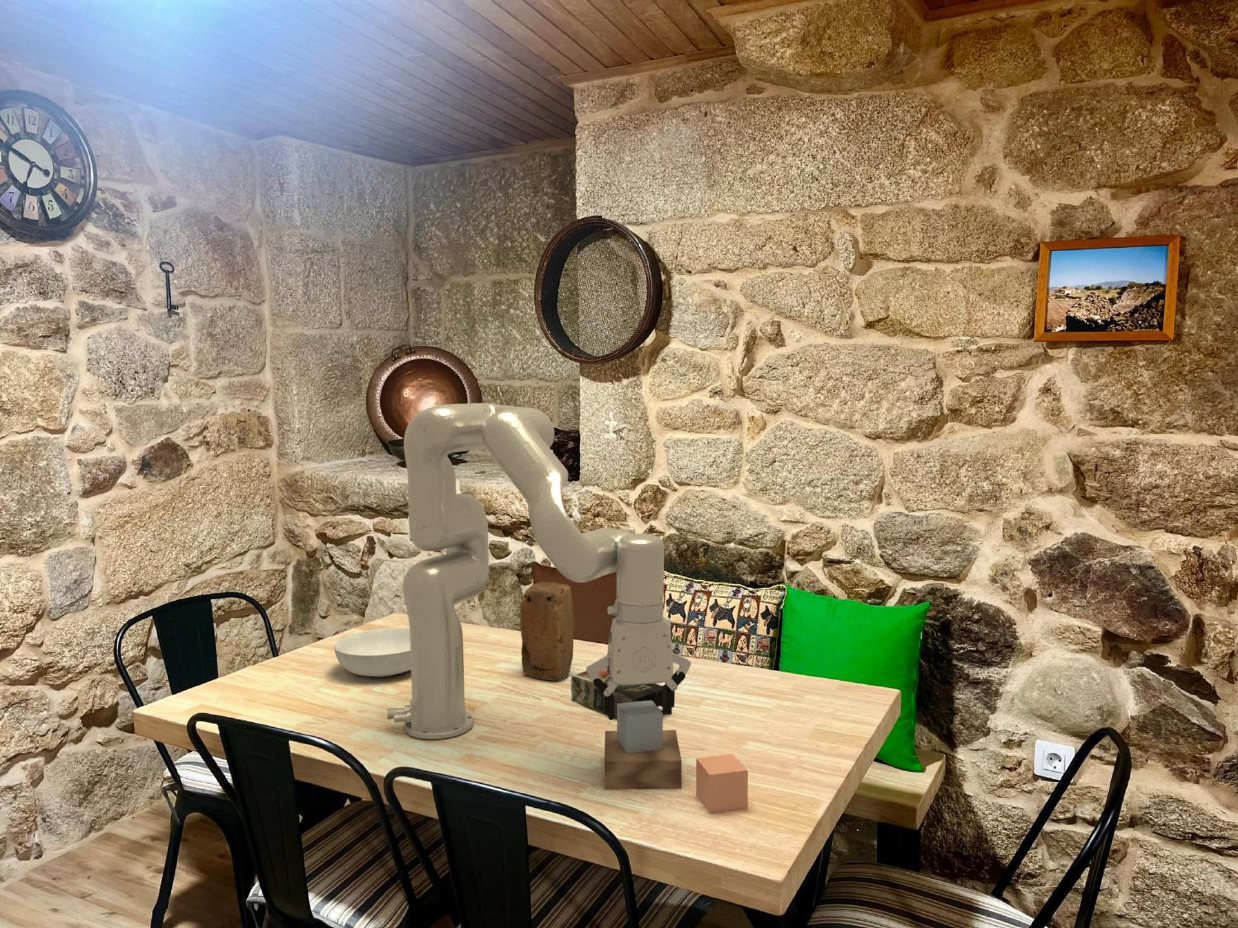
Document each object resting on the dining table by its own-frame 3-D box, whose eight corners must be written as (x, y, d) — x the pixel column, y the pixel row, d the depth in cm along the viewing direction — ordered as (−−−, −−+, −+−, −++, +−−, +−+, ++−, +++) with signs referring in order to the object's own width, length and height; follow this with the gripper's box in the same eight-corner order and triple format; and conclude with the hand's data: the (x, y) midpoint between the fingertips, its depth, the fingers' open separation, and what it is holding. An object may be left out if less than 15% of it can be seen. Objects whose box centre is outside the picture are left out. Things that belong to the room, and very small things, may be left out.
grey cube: (626, 753, 143) (626, 716, 142) (617, 738, 148) (617, 703, 148) (662, 749, 144) (662, 713, 144) (651, 734, 150) (652, 700, 149)
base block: (605, 791, 140) (604, 761, 140) (605, 759, 152) (605, 730, 152) (681, 790, 141) (681, 760, 140) (675, 758, 152) (675, 729, 152)
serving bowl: (390, 650, 213) (389, 622, 212) (452, 666, 201) (451, 636, 200) (315, 674, 196) (314, 643, 195) (377, 693, 184) (376, 660, 183)
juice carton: (565, 700, 180) (565, 670, 179) (601, 688, 186) (602, 660, 186) (634, 730, 165) (635, 697, 164) (671, 716, 172) (672, 685, 171)
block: (576, 673, 195) (575, 583, 193) (560, 684, 188) (558, 590, 186) (534, 666, 200) (532, 578, 198) (516, 677, 193) (514, 585, 191)
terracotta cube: (709, 813, 132) (709, 774, 132) (696, 795, 138) (696, 758, 138) (747, 808, 134) (747, 769, 133) (732, 790, 140) (732, 753, 139)
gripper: (592, 621, 138) (591, 728, 140) (698, 614, 142) (696, 718, 144) (582, 608, 145) (581, 710, 147) (683, 602, 150) (681, 701, 151)
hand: (638, 714), depth 146 cm, fingers open, 9 cm apart
